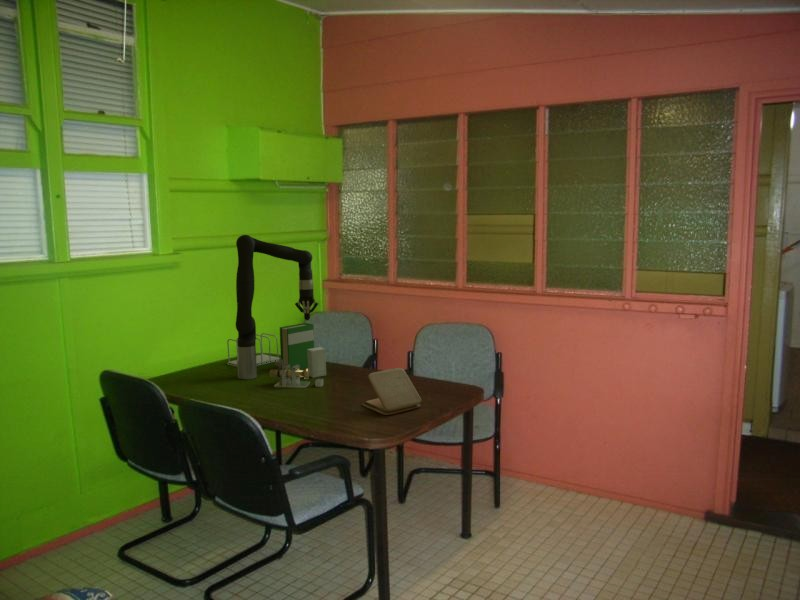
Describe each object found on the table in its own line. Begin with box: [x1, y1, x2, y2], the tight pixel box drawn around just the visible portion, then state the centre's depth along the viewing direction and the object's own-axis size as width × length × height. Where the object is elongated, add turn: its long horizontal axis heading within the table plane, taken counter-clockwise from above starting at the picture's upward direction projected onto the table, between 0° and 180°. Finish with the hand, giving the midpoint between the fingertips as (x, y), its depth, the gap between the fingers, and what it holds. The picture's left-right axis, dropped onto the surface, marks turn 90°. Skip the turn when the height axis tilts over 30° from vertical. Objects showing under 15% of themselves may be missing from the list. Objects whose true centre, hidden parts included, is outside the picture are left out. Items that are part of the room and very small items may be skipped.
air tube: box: [269, 368, 310, 380], centre depth 328 cm, size 19×6×6 cm, turn 83°
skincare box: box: [307, 346, 327, 379], centre depth 346 cm, size 8×6×15 cm
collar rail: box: [273, 358, 324, 389], centre depth 328 cm, size 24×10×12 cm, turn 83°
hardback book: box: [279, 322, 315, 370], centre depth 363 cm, size 18×7×24 cm, turn 136°
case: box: [362, 367, 422, 416], centre depth 290 cm, size 20×21×16 cm
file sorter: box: [226, 332, 281, 368], centre depth 377 cm, size 25×17×16 cm
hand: (307, 320), depth 349 cm, fingers closed
